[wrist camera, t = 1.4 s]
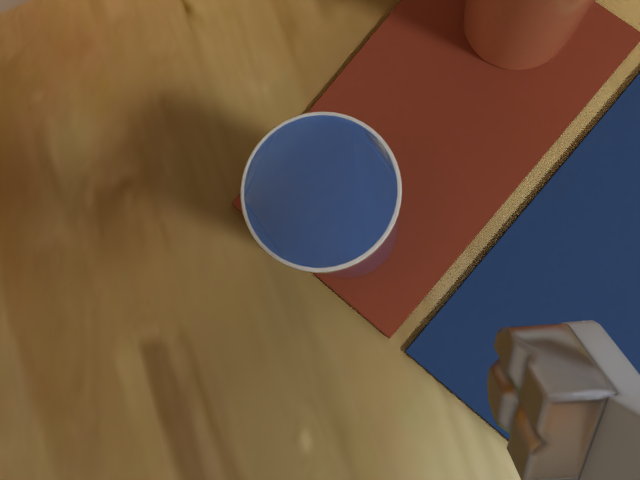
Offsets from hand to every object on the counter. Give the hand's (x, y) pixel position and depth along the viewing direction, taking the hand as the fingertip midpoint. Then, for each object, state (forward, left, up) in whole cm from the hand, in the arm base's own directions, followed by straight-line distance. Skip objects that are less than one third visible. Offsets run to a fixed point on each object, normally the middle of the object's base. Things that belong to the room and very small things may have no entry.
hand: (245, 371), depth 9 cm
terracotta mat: (-11, -3, -21) cm, 24 cm away
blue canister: (-4, -3, -21) cm, 22 cm away
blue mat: (-11, +9, -21) cm, 25 cm away
